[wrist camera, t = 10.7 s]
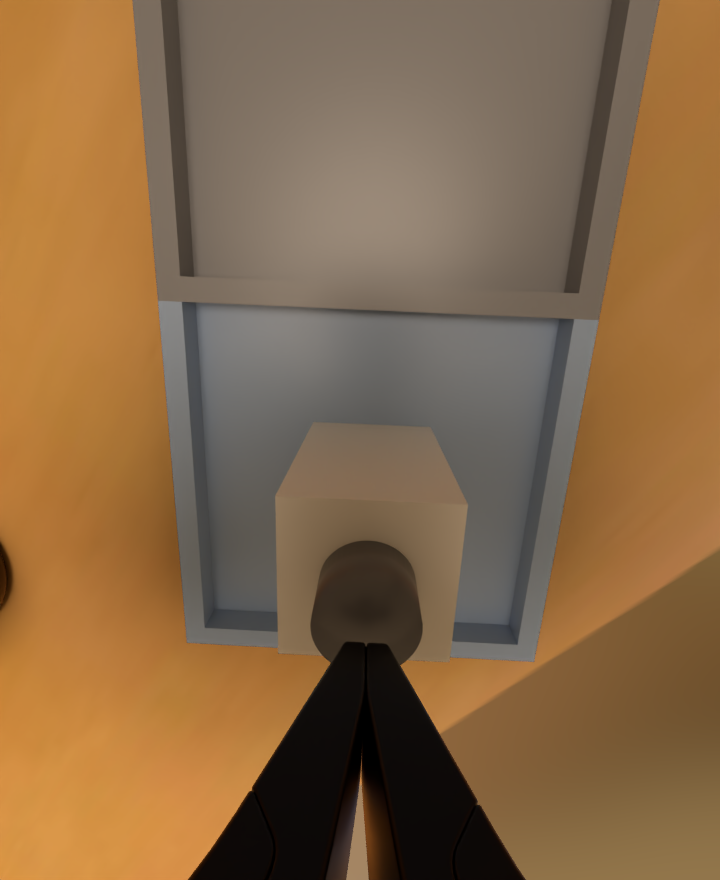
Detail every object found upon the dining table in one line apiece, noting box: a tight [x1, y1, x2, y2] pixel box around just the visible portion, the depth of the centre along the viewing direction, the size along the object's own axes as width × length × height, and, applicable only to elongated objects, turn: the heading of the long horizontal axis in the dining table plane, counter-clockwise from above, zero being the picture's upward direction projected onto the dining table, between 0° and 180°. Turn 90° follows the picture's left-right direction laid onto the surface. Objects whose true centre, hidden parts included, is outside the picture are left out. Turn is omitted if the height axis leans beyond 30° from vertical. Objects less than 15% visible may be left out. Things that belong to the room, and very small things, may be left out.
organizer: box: [133, 0, 660, 662], centre depth 15 cm, size 15×28×2 cm, turn 178°
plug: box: [275, 422, 468, 665], centre depth 14 cm, size 4×4×9 cm
